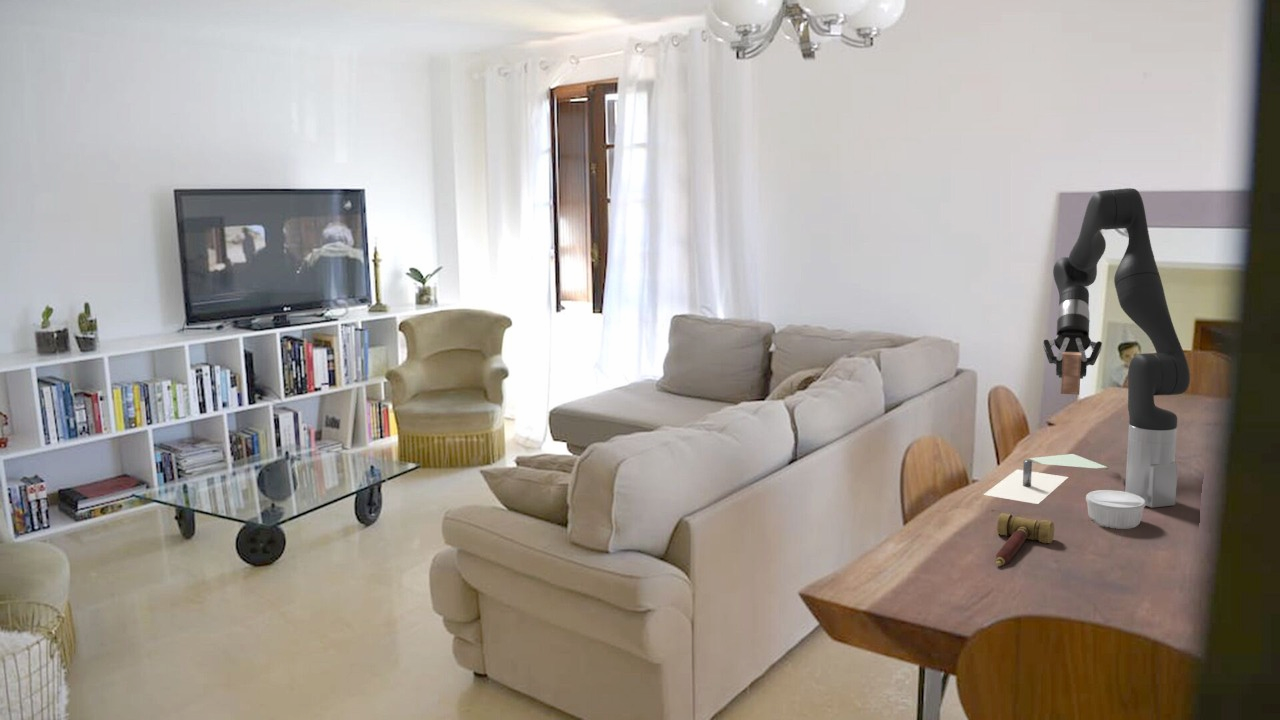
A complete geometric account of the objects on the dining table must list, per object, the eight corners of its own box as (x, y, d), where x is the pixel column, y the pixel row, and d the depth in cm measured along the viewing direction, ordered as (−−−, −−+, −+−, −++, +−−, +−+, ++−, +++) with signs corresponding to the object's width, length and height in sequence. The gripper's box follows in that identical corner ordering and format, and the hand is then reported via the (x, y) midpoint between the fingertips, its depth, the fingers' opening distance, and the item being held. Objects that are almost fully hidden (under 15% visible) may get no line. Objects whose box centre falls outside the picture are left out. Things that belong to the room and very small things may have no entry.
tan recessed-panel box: (1079, 391, 236) (1081, 352, 234) (1079, 394, 232) (1081, 355, 230) (1060, 390, 237) (1062, 351, 236) (1060, 393, 234) (1062, 354, 232)
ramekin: (1111, 534, 190) (1113, 509, 189) (1072, 516, 200) (1073, 493, 200) (1156, 527, 193) (1158, 502, 192) (1116, 510, 203) (1117, 487, 202)
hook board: (1037, 508, 206) (1039, 477, 205) (982, 498, 213) (983, 469, 212) (1068, 481, 224) (1069, 452, 223) (1016, 473, 232) (1017, 445, 230)
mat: (1107, 468, 233) (1107, 467, 233) (1061, 473, 230) (1061, 472, 230) (1072, 455, 245) (1072, 453, 245) (1028, 459, 243) (1028, 458, 243)
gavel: (1026, 558, 171) (970, 548, 177) (1025, 581, 172) (970, 570, 178) (1055, 518, 187) (1003, 509, 193) (1054, 539, 188) (1003, 530, 194)
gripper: (1043, 311, 241) (1039, 366, 232) (1104, 312, 235) (1104, 369, 226) (1042, 329, 247) (1039, 383, 238) (1103, 330, 241) (1102, 386, 232)
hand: (1071, 376), depth 232 cm, fingers closed on tan recessed-panel box, 4 cm apart
